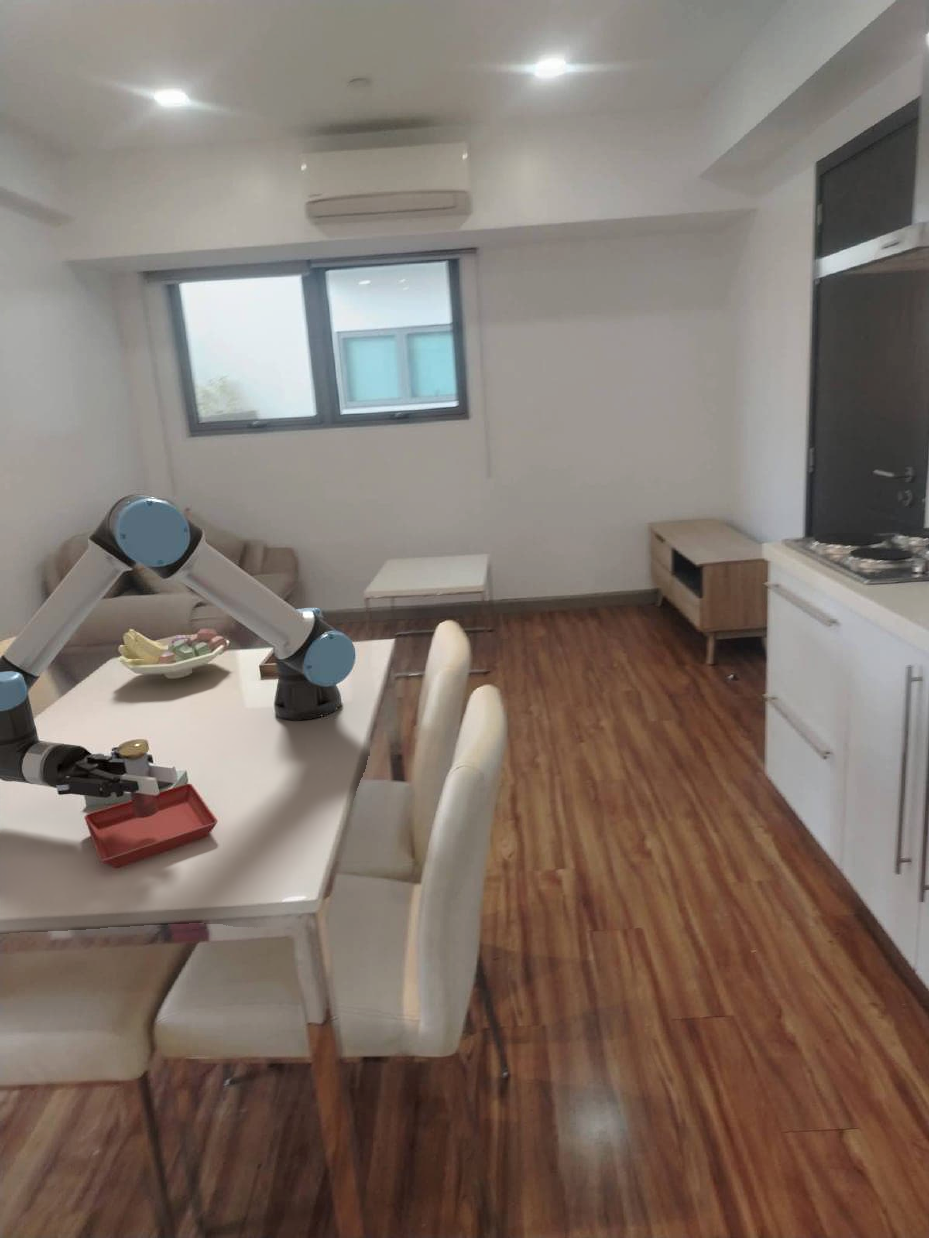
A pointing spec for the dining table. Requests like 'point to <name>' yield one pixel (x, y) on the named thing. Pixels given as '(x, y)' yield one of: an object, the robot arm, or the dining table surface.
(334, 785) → the dining table surface
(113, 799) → the base
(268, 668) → the wooden tray
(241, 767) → the dining table surface
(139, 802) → the pin
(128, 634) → the dish with food
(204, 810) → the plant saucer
